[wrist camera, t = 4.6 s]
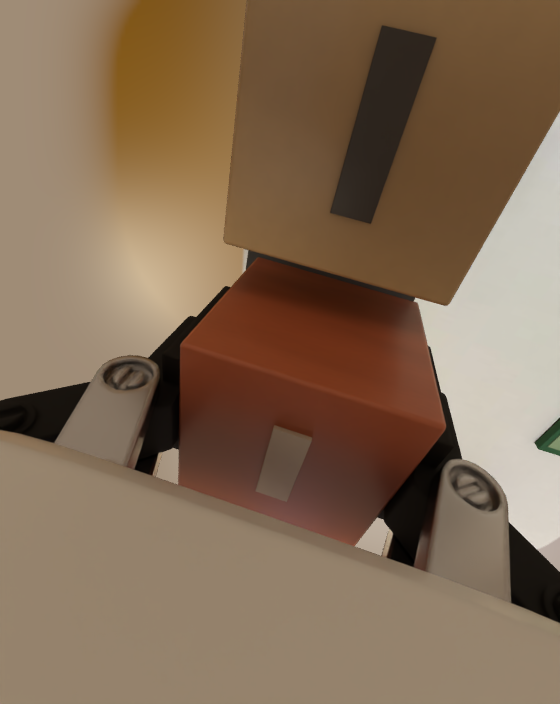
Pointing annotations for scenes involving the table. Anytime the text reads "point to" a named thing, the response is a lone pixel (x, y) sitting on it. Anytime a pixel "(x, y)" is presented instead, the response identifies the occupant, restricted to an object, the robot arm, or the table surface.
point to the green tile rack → (550, 440)
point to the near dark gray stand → (387, 133)
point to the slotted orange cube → (306, 399)
